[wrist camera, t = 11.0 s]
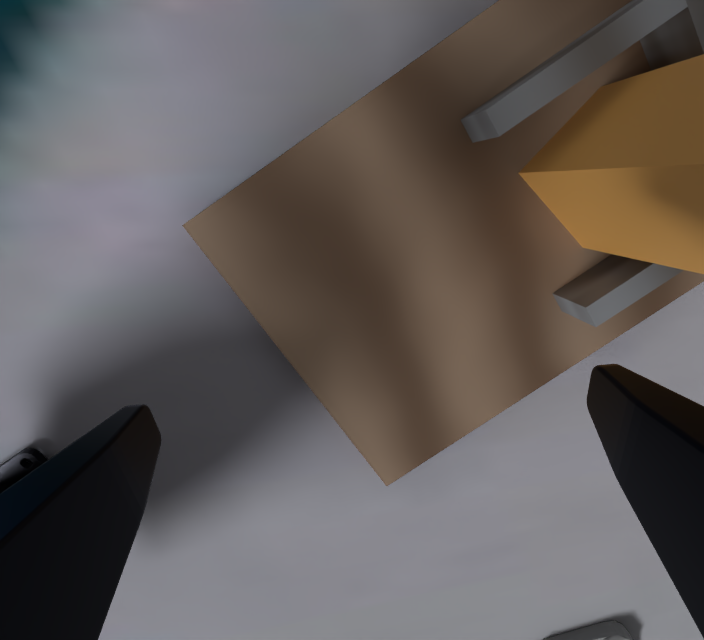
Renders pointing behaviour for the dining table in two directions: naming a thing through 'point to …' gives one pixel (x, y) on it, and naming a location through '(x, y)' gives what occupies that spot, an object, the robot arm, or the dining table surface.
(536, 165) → the block
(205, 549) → the dining table surface
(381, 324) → the keeper
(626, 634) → the pulley system
